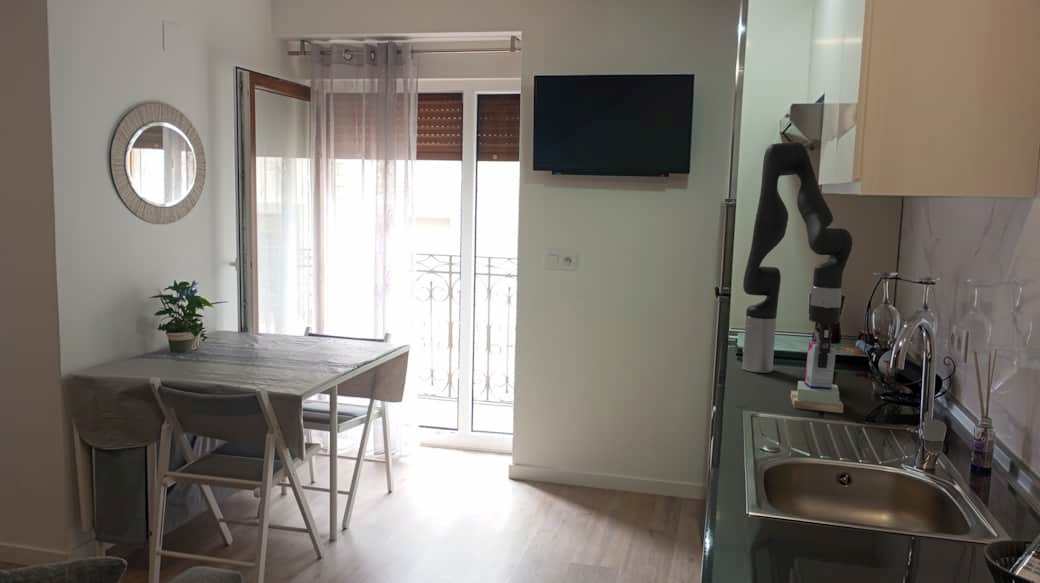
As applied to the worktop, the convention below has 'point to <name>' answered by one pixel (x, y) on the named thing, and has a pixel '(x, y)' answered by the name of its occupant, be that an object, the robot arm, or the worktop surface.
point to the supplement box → (816, 375)
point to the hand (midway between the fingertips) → (820, 364)
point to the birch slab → (815, 404)
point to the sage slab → (817, 394)
